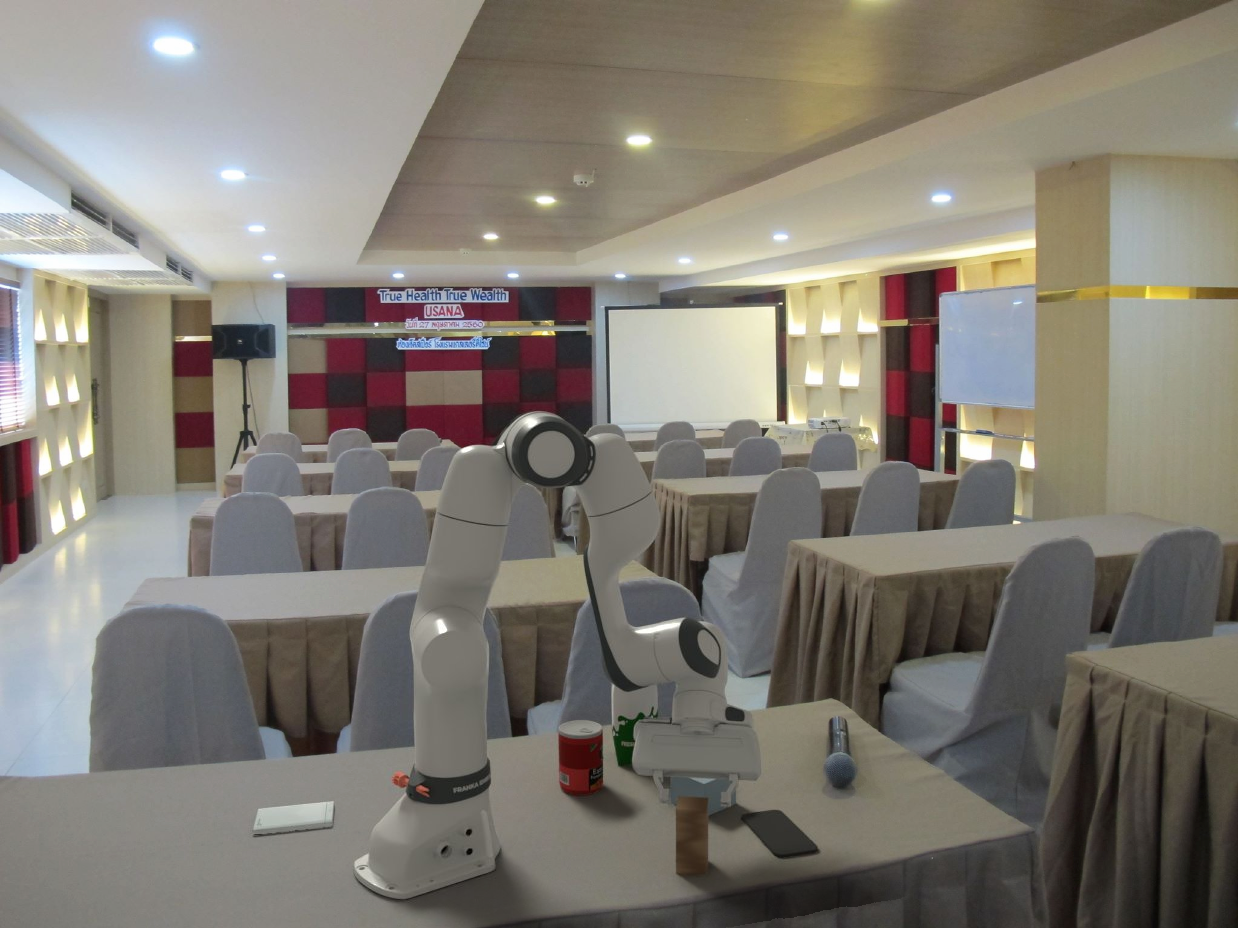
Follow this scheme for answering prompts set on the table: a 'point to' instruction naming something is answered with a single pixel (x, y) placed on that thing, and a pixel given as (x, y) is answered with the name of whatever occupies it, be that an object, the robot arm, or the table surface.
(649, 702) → the milk carton
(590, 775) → the canned food
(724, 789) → the base block
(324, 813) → the hard drive
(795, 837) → the phone
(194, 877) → the table surface
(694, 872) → the walnut post
